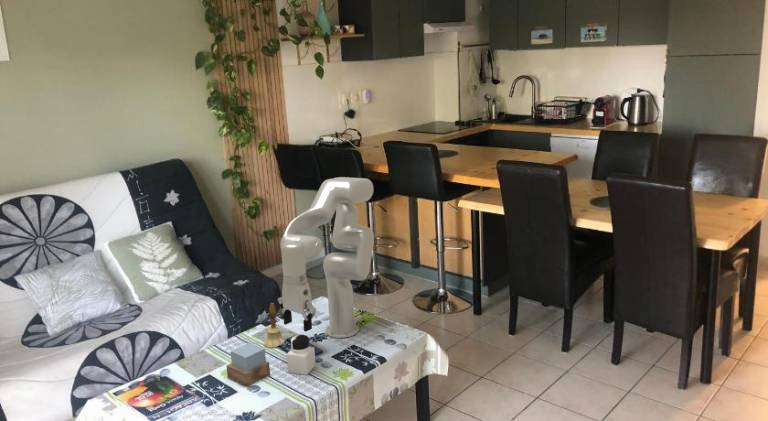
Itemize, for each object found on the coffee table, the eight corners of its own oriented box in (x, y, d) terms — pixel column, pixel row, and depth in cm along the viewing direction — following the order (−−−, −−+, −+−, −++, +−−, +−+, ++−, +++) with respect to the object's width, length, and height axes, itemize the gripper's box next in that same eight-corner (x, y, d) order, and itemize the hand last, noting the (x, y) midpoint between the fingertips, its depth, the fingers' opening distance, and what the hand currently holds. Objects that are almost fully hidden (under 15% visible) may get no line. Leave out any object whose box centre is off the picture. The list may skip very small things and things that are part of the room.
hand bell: (270, 337, 250) (267, 298, 246) (289, 339, 248) (286, 300, 244) (259, 346, 243) (255, 306, 239) (279, 349, 240) (276, 309, 236)
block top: (250, 355, 226) (249, 342, 225) (266, 362, 221) (264, 348, 220) (231, 364, 220) (230, 351, 219) (247, 371, 215) (245, 357, 214)
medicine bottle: (315, 365, 227) (313, 333, 224) (307, 375, 221) (304, 342, 218) (297, 363, 229) (294, 331, 226) (287, 372, 223) (285, 340, 220)
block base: (251, 367, 228) (249, 354, 227) (270, 375, 222) (268, 362, 221) (227, 378, 221) (226, 365, 220) (246, 387, 215) (245, 374, 213)
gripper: (321, 280, 214) (324, 329, 218) (285, 270, 225) (288, 317, 229) (305, 286, 208) (307, 336, 212) (268, 276, 219) (272, 324, 223)
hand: (297, 326), depth 220 cm, fingers open, 9 cm apart
